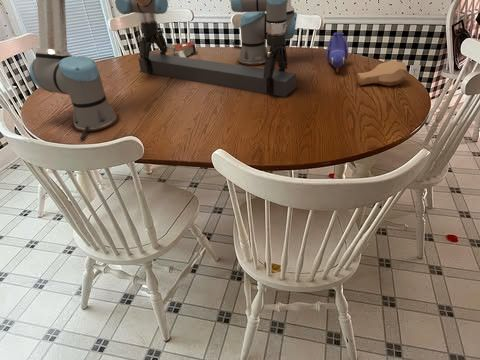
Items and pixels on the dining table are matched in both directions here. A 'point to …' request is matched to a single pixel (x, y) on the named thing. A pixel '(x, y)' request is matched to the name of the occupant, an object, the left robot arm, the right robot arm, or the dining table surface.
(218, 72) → the slab
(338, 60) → the toy
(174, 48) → the tape dispenser
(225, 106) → the dining table surface
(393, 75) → the squash
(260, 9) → the right robot arm
